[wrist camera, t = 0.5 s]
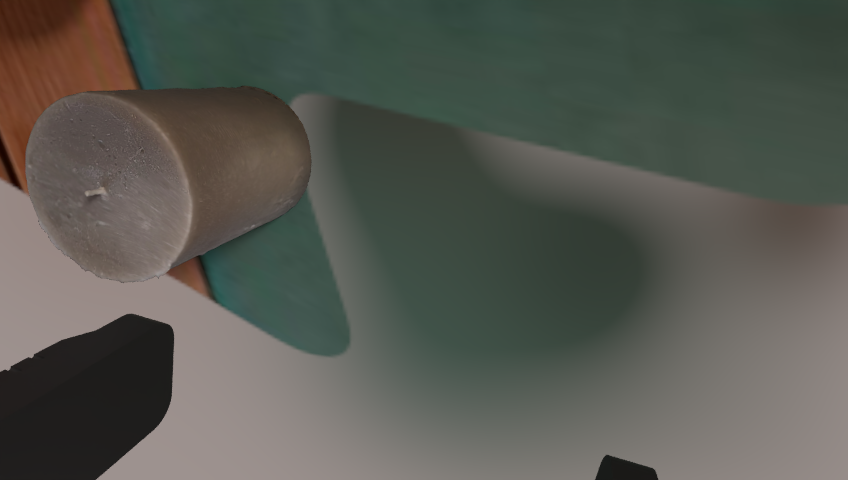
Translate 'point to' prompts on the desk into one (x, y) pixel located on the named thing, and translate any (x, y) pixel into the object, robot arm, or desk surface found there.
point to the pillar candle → (162, 174)
